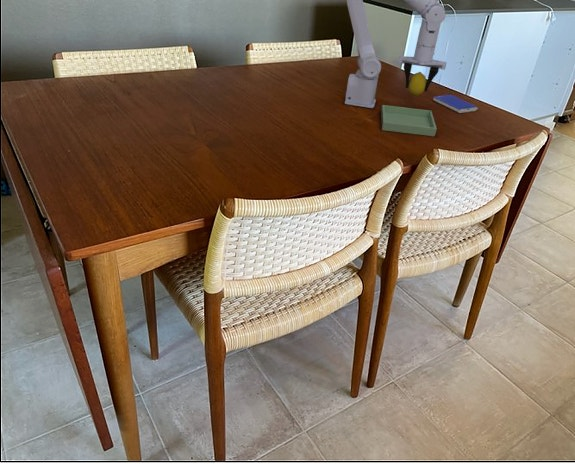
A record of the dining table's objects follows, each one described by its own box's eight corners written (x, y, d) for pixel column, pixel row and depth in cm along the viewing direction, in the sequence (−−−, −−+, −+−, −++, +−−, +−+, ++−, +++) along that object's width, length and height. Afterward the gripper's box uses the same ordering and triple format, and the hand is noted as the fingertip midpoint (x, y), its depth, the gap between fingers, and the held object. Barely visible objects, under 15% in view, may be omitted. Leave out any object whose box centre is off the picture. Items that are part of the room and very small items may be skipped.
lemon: (424, 96, 154) (430, 71, 149) (421, 100, 150) (427, 75, 145) (407, 92, 156) (413, 68, 151) (404, 97, 151) (409, 72, 147)
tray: (381, 130, 136) (383, 122, 135) (381, 112, 148) (382, 104, 147) (434, 136, 135) (436, 128, 133) (429, 117, 147) (431, 110, 146)
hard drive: (433, 96, 161) (460, 108, 152) (451, 94, 164) (478, 106, 155) (432, 100, 161) (458, 113, 153) (450, 98, 165) (476, 110, 156)
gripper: (401, 44, 142) (392, 89, 149) (450, 50, 139) (439, 95, 147) (402, 39, 147) (394, 82, 155) (449, 45, 145) (438, 89, 152)
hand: (416, 88), depth 151 cm, fingers closed on lemon, 5 cm apart
